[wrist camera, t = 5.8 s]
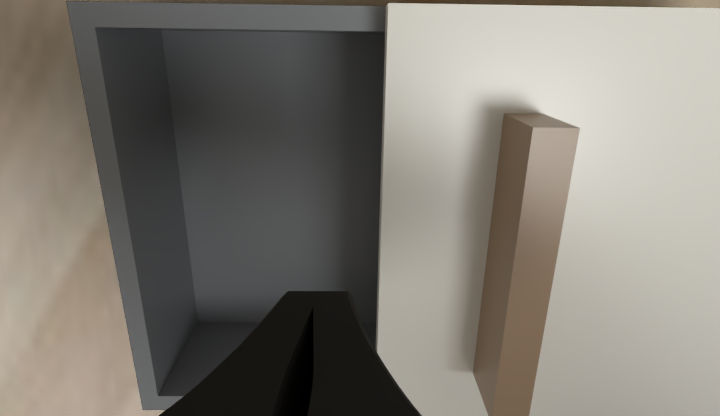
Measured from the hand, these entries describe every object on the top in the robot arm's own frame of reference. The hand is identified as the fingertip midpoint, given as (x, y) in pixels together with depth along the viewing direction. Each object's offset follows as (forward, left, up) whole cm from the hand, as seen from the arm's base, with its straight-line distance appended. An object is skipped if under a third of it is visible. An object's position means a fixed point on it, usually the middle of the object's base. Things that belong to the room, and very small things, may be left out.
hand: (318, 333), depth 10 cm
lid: (-7, 0, -4) cm, 9 cm away
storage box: (+1, 0, -10) cm, 10 cm away
